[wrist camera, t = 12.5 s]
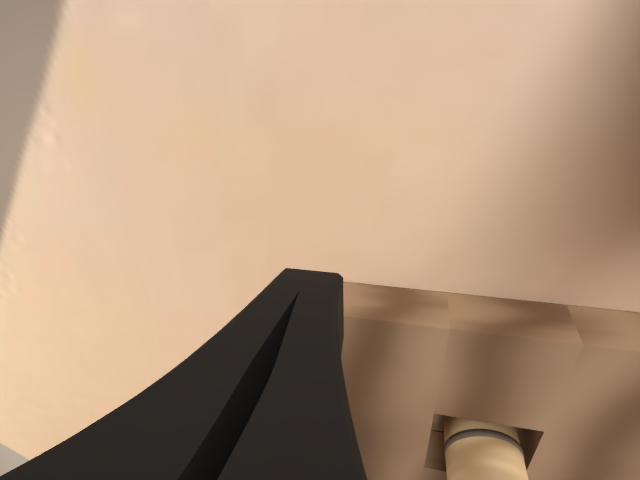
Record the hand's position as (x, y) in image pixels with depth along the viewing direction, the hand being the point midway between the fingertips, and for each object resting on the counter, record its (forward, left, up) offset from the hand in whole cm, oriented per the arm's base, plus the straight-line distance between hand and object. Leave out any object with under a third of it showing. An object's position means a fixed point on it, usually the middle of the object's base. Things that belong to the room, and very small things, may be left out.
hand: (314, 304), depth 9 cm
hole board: (-7, +16, -9) cm, 20 cm away
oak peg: (-7, +16, -9) cm, 20 cm away
